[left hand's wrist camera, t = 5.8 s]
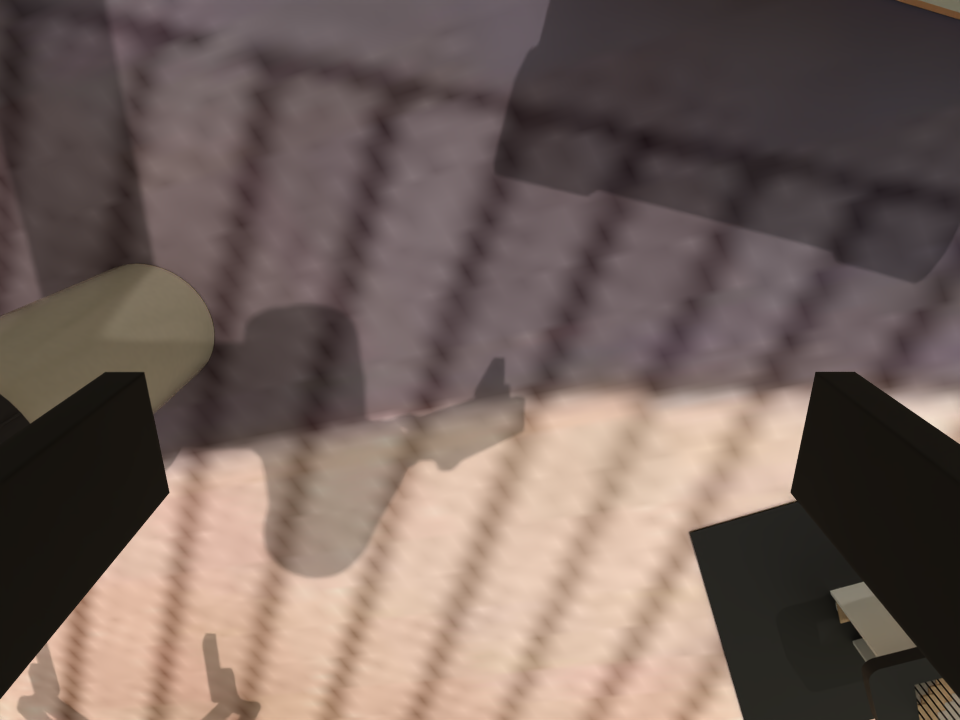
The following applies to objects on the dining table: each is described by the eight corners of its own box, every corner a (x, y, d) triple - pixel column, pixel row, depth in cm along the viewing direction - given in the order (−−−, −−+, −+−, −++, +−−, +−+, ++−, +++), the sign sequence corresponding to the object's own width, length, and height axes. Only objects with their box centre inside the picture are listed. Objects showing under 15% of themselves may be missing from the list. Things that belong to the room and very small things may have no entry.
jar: (59, 282, 40) (-274, 416, 22) (182, 248, 39) (-63, 359, 22) (120, 398, 43) (-133, 598, 25) (234, 369, 42) (57, 554, 25)
